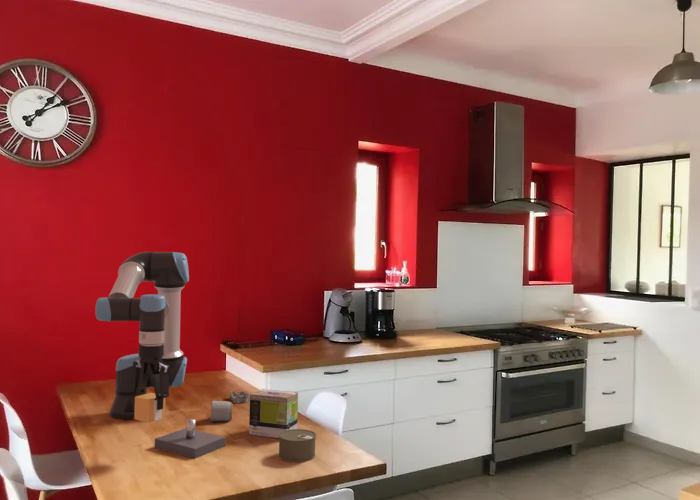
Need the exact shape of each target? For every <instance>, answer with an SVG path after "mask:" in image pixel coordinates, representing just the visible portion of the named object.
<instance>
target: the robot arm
mask: <svg viewBox="0 0 700 500" xmlns="http://www.w3.org/2000/svg"><path fill="white" fill-rule="evenodd" d="M189 273H190V272H189V264H188V258H187V256H186V255H185V253H183V252H177V251H176V252H175V251H143V252H142V251H141V252H139V253H136V254H133V255H131V256H130V257H128V258H126V259H125V260H124V261H122V263H121V264H120V266H119V268H118V271H117V278H116V280H115V281H114V284H113V287H112V289H111V290H110V293H109V294H108V297H107V296H105V297H99V298H97V300H96V304H95V318H96V320H98V321H101V322H109V323H110V322H139V329H138V330H139V331H138V333H139V334H138V343H139V346H138V353H134V354H133V353H132V354H127V355H125V356H122V357H119V358H118V359H117V361H116V363H115V371H114V372H115V393H114V394H115V395H114V398H113V402H112V404H111V407H110V409H109V416H110V418H112V419H116V420H117V419H118V420H135V419H134V413H135V397H136V396H140V395H144V394H148V392H147V391H148V390H147V389H148V388H153V390H154V393H155V396H156V398H155V399H154V413H153V422H156V421H159V420H162V419H163V418H162V409H163V399H164V398H165V399H166V398H169V395H170V389H169V388H177V387H180V386H182V385H183V384H184V382H185V381H184V380H185V375H186V368H187V363H188V358H187V357H186V356H184V351H182V350H181V348H180V346H181V344H180V343H181V307H182V306H181V299H182V298H181V297H182V293H181V292H182V290H183V289H184V288H185V286H186V283H188V282H189V281H190V274H189ZM142 282H150V283H151V282H152V283H153V286H154V287H153V288H155V289H156V290H157V294H156V293H155V294H154V293H153V294H152V293H151V294H143V295H141V296H140V297H134V296H135V295H136V291H137V289H138V287H139V285H140V284H141V283H142ZM159 394H160V395H159Z"/></svg>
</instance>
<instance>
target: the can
mask: <svg viewBox="0 0 700 500" xmlns="http://www.w3.org/2000/svg"><path fill="white" fill-rule="evenodd" d="M278 439H279V440H278V441H279V443H278V458H279V459H280V460H282V461H284V462H289V463H305V462H308V461H311V460H314V459H315V458H316V439H317V434H316V432H314V431H312V430H308V429H302V428H301V429H299V428H297V429H292V430H286V431H283V432H281V433H280V434H279V438H278Z"/></svg>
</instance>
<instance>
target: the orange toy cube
mask: <svg viewBox="0 0 700 500" xmlns="http://www.w3.org/2000/svg"><path fill="white" fill-rule="evenodd" d="M159 395H160V394H159ZM155 398H156V396H155V392H147V394H144V395H140V396H136V397H135V413H134V419H133V420H136V421H140V422H144V423H147V424H150V423H153V422H154V421H153V413H154V399H155ZM165 418H166V398H164V399H163V409H162V419H165Z"/></svg>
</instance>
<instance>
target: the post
mask: <svg viewBox="0 0 700 500" xmlns="http://www.w3.org/2000/svg"><path fill="white" fill-rule="evenodd" d="M185 422H186V425H185V428H186V439H194V438H195V430H196V428H197V427H196V425H197V424H196V422H197V421H196V418H187V419H186V420H185Z"/></svg>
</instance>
